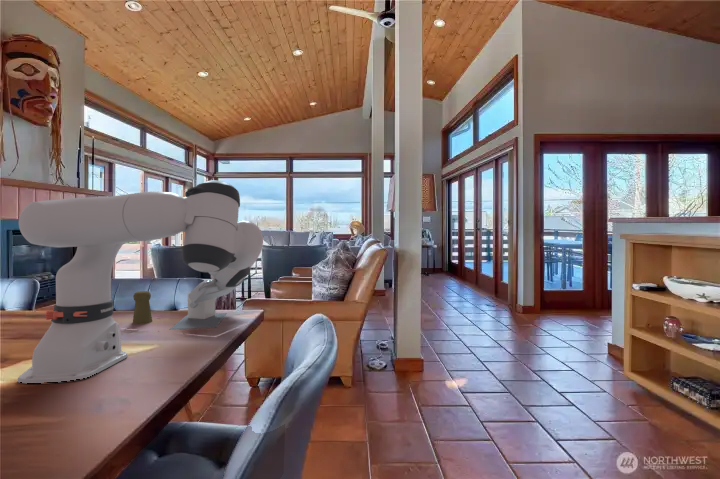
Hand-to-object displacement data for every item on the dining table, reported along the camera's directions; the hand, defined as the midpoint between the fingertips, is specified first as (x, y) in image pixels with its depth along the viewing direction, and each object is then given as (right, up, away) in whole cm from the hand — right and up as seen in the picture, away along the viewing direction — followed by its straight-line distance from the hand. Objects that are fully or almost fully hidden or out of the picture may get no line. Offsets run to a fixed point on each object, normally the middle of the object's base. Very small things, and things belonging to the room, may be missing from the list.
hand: (200, 304), depth 144 cm
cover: (0, -4, 0) cm, 5 cm away
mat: (+2, -5, -6) cm, 8 cm away
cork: (-17, -5, -8) cm, 19 cm away
